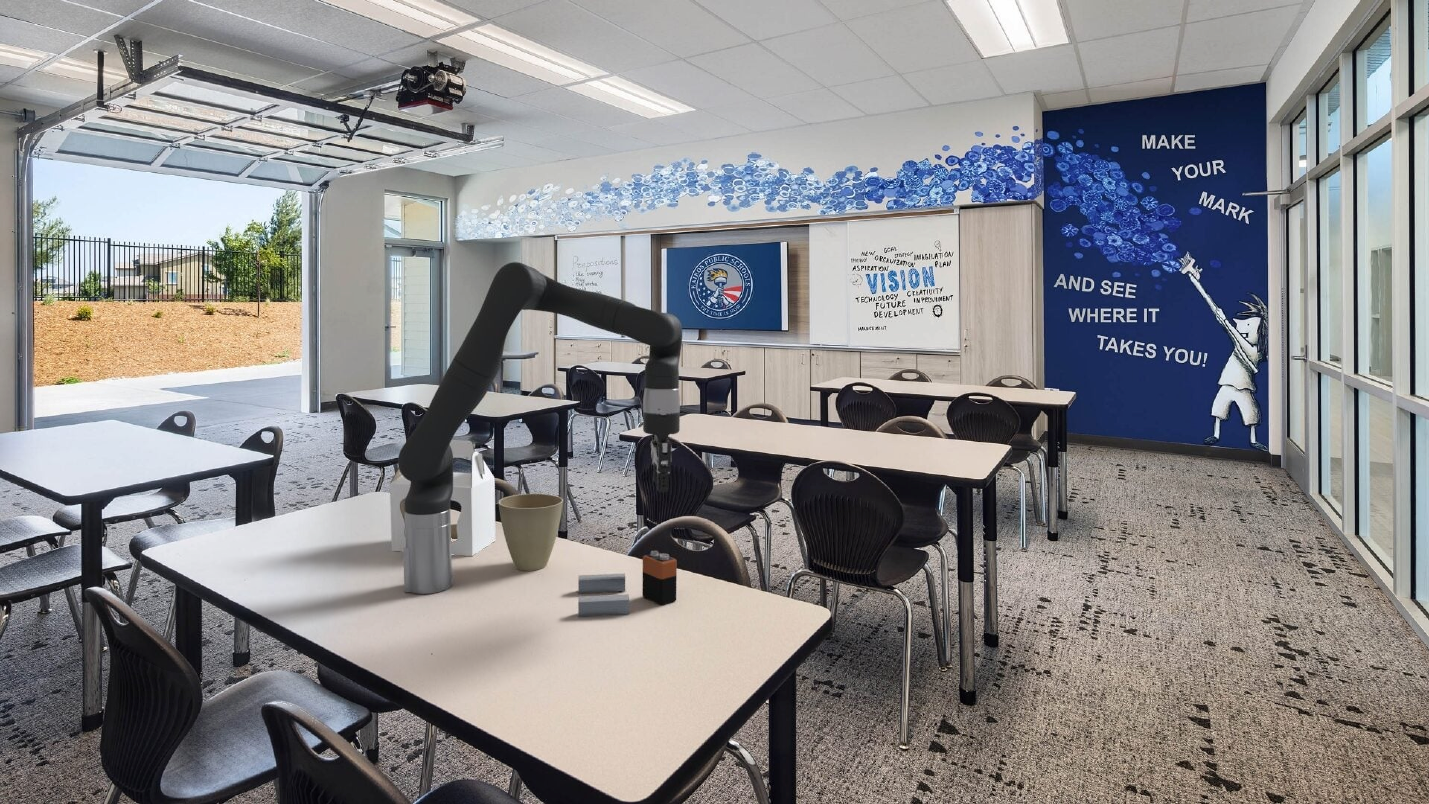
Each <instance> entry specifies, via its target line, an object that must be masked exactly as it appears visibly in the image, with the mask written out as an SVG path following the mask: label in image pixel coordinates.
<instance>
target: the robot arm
mask: <svg viewBox="0 0 1429 804" xmlns="http://www.w3.org/2000/svg"><path fill="white" fill-rule="evenodd" d="M523 310H524V311H529V310H530V311H531V310H532V311H538V312H547V313H552V314H558V315H562V316H564V317H565V316H566V317H568V318H571V319H574V320H576V321H579V322H581V323H584V324H585V325H588V326H591V327H594V328H597V329H600V330H603V331H606V332H609V333H613V334H616V335H620V336H623V337H624V336H625V337H627V338H630V339H632V340H634V341H636V342H638V343H642V344H645V345H647V346H649V355H648V360H647V361H646V362H645V363H646V364H645V367H644V391H643V399H642V400H643V404H642V408H643V409H642V410H643V411H642V415H643V416H642V420H643V421H642V422H643V423H642V429H643V430H642V431H643V432H644V434H647V435H651V438H652V439H651V440H650V448H651V451H650V452H651V453H650V455H651V456H650V457H651V460H652V462H651V463H652V465H653V482H654V484H657V492H659V493H667V492H669V489H670V473H671V472H672V449H673V445H672V442H671V440H669V437H670V435H676V434H678V433H679V432H680V429H681V428H680V427H681V426H680V422H681V421H680V420H681V419H680V416H681V413H680V410H681V408H680V407H681V398H680V389H679V387H680V383H679V382H680V381H679V380H680V370H679V365H680V357H681V352H682V351H681V350H682V344H683V327H682V324H681V321H680V320H679V319H678V317H676V316H675V315H674V314H672V313H668V312H661V311H656V310H653V309H650V308H645V307H641V306H637V305H636V304H634V303H632V302H630V301H627V300H624V299H621V298H617V297H613V296H610V295H606V294H603V293H599V292H595V291H590V290H589V291H588V290H585V289H579V288H576V287H572V286H569V285H566V284H564V283H561V282H559V281H557V280H554V279H553V278H552V277H549V276H547V275H545V274H543V273H542V272H540V271H538V270H537V269H536V268H534V267H532V266H529V265H528V264H525V263H521V262H517V261H512V262H508V263H506V264H504V265H503V266H502V267H501V268H499V269H498V271H497V272H496V274H495V275H494V276H493V280H492V281H491V284H490V286H489V288H488V291H487V294H486V296H485V298H484V301H483V302H482V305H481V307H480V309H479V312H478V315H477V316H476V318H475V320H474V321H473V323H472V325H471V327H470V329H469V331H468V332H467V334H466V336H465V338H464V339H463V341H462V343H461V345H460V347H459V349H458V351H457V352H456V353H455V354H454V357H453V359H452V361H451V363H450V364H449V366H448V368H447V370H446V372H445V374H444V376H443V377H442V380H441V382H440V383H439V385H438V388H437V390H436V391H435V393H434V395H433V397H432V400H431V401H430V403H429V406H428V408H427V410H426V412H425V413H424V415H423V417H422V418H421V419H420V422H419V423H418V424H417V426H416V428H414V430H413V432H412V433H411V434H410V435H409V437H408V439H407V440H406V441H405V442H404V444H403V446H402V447H401V449H400V451H399V452H398V453H399V454H398V457H397V465H398V466H397V467H399V470H400V472H401V474H402V475H403V476H404V478H406V479H407V480H409V481H411V485H410V489H409V492H408V494H407V496H406V499H405V532H406V546H405V548H404V550H403V552H402V553H403V584H404V586H403V588H404V589H403V590H404V593H412V594H420V595H421V594H422V595H423V594H424V595H427V594H435V593H439V592H443V591H446V590H448V589H450V588H451V587H452V585H453V574H452V573H453V569H452V565H453V564H452V555H451V525H452V521H451V519H452V518H451V501H452V500H451V497H452V493H453V472H454V457H453V453H452V449H451V447H450V445H449V444H450V442H451V440H453V438H454V437H455V434H456V433H457V431H458V430H459V428H460V427H461V425H462V424H463V423H464V422H465V421H466V419H468V417H470V415H471V414H472V413H473V412H474V410H475V409H476V408H477V407H478V406H479V404H480V402H482V400H483V399H484V398H485V396H486V394H487V393H488V391H489V390H490V388H491V385H492V384H493V382H494V381H495V378H496V377H497V376H498V375H497V374H498V373H499V370H500V367H501V365H502V360H503V355H504V350H505V349H504V347H505V343H506V339H507V336H508V334H509V331H510V329H511V328H512V326H513V324H514V322H515V320H516V319H517V317H518V315H519V314H520V312H521V311H523Z"/></svg>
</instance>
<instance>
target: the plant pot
mask: <svg viewBox="0 0 1429 804" xmlns="http://www.w3.org/2000/svg"><path fill="white" fill-rule="evenodd" d="M563 504H564V499H563V498H562V497H560V496H557V495H553V494H547V493H523V494H522V493H521V494H514V495H509V496H505V497H502V498H500V499H499V500H498V509H499V515H500V516H499V517H500V522H501V527H502V531H503V535H504V539H505V542H506V546H507V549H508V551H509V554H510V558H511V560H512V562H513V565H514V567H515V568H516V569H517V570H520V571H529V570H530V571H538V570H541V569H540V568H542V569H544V568H546V567H547V565H548V563H549V560H550V557H551V554H552V552H553V549H554V547H555V546H554V545H555V543H556V539H557V535H558V530H559V527H560V523H561V517H562V511H563ZM545 566H546V567H545ZM537 569H538V570H537ZM530 571H529V572H530Z"/></svg>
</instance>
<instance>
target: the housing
mask: <svg viewBox="0 0 1429 804" xmlns="http://www.w3.org/2000/svg"><path fill="white" fill-rule="evenodd" d="M577 582H578V583H577V584H578V585H577V586H578V591H577V592H578V595H581V594H582V595H583V594H584V596H578V599H577V602H578V605H577V608H578V613H577V616H578V618H583V617H585V618H586V617H602V616H603V615H606V616H619V615H620V616H623V615H630V595H629V594H628V593H627V594H610V595H609V594H607V595H606V594H605V595H590V596H587V595H586V596H585V593H586V594H600V593H599V592H607V593H620V592H619V591H625V592H626V574H625V573H607V574H606V573H602V574H600V573H599V574H582V575H579V574H578V581H577ZM603 617H604V616H603Z"/></svg>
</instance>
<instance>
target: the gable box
mask: <svg viewBox="0 0 1429 804" xmlns="http://www.w3.org/2000/svg"><path fill="white" fill-rule="evenodd" d="M449 445H450V447H451V449H452V453H453V458H455V459H456V458H457V459H458V458H459V459H467V460H470V465H471V466H470V469H471V470H470V472H458V471H457V472H454V471H453V493H452V497H451V501H454V502H457V503H459V505H460V506H461V507H460V508H461V509H460V513H459V517H458V519H457V523H456V524H455V523H454V524H453V523H452V524H451V538H452V539H457V540H456V541H453V542H452V541H451V554H454V555H453V556H457V555H467V556H466V557H474V556H475V555H476V554H475V553H477V554H479V553H480V552H482V551H483V550H484V549H483V548H485V547H486V546H488V545H489V546H491V545H492V544H493V543H492V542H494V541H495V542H496V495H495V494H496V492H495V491H496V489H495V488H496V487H495V486H496V485H495V483H496V482H495V476H494V474H492V471H491V470H490V468H489V467H488V465H487V463H486V462H485V460H484V454H483V452H479V451H475V449H476V443H474V442H473V441H472V440H471V439H469V440H468V439H452V440H451V442H450V444H449ZM397 467H398V466H397ZM410 485H411V481H409V480H407V479H406V478H404V476H403V475H402V474H401V472H400V470H399V467H398V468H397V469H396V471H395V473H394V475H393V477H392V479H391V481H390V482H389V501H390V502H389V503H390V529H391V530H390V532H391V533H390V534H391V535H390V536H391V539H390V540H391V551H392V552H395V551H403V550H404V548H405V546H406V532H405V499H406V496H407V494H408V492H409V489H410ZM495 542H494V543H495ZM491 543H492V544H491ZM490 544H491V545H490ZM489 546H488V547H489ZM486 548H487V547H486ZM486 548H485V549H486ZM482 549H483V550H482ZM481 550H482V551H481ZM479 551H480V552H479ZM474 554H475V555H474ZM473 555H474V556H473Z"/></svg>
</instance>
